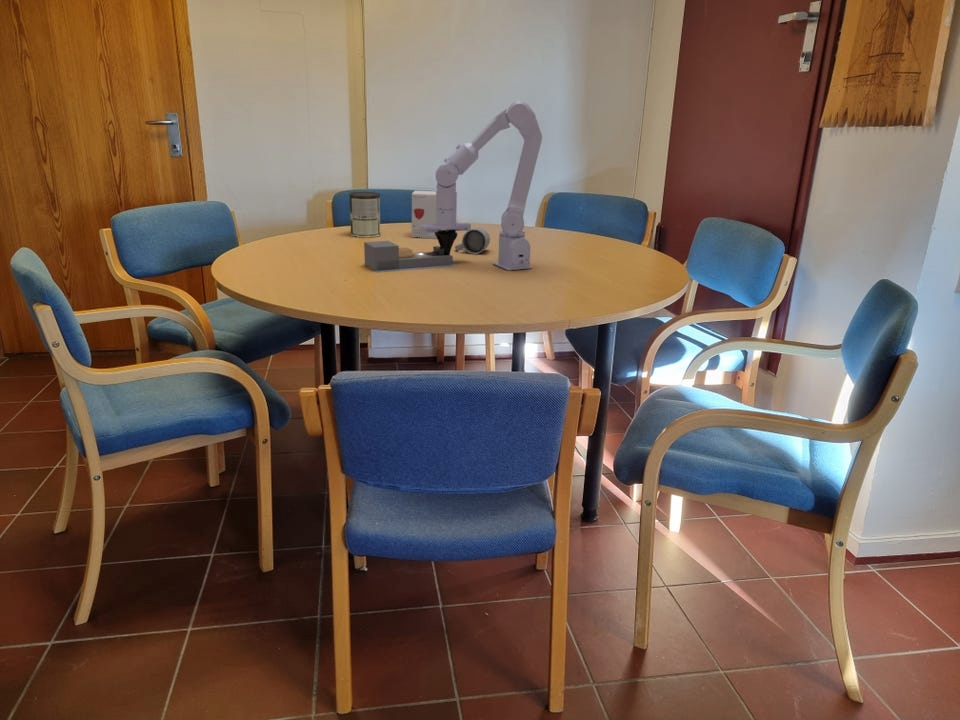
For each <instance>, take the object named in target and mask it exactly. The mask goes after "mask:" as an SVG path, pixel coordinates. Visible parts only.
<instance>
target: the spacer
mask: <svg viewBox="0 0 960 720" xmlns="http://www.w3.org/2000/svg"><path fill="white" fill-rule="evenodd" d="M412 253H413V249H410V248H408V247H399V259H401V258H412Z"/></svg>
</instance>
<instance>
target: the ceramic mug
mask: <svg viewBox="0 0 960 720" xmlns="http://www.w3.org/2000/svg"><path fill="white" fill-rule="evenodd" d="M461 239H462V240H461V243H459V244H457V245H455V246H454V248H455V250H456V252H458V251H461V250H463V249H464V250H465V252H467V253H468V254H470V253H471V255H478V254H480V253H482V252H483V251H484V250H486V249H487V248H488V247H489V244H490V243H491V242H490V241H491V237H490V233H489V232H488V230H486V229H484V228H482V227H474V228H471V231H466V232H465V233H464V235H462V238H461Z"/></svg>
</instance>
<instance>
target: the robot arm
mask: <svg viewBox="0 0 960 720" xmlns="http://www.w3.org/2000/svg"><path fill="white" fill-rule="evenodd" d="M510 124H511V125H512V126H513V127H514V128H516V130H518V132H519V135H521V136H522V138H523V144H522V150H521V154H520V157H519V160H518V165H517V170H516V173H515V176H514V182H513V185H512V190H511V194H510V198H509V201H508V205H507V208H506V210H505V211H504V212H503V213H502V215H501V223H500V226H501V231H499V234H498V235H499V236H498V237H499V238H498V260H497V261H492V265H494V266H497V267H500V268H501V269H503V270H506V271H517V270H518V271H519V270H528V269H533V266H532V265H530V264H531V263H530V262H531V245H530V242H529V241H528V240H527V239H526V232H525V231H524V229H525V221H524V214H525V209H526V204H527V199H528V196H529V191H530V188H531V184H532V180H533V176H534V173H535V168H536V164H537V159H538V157H539V152H540V149H541V145H542V141H543V134H542V130H541V129H540V125H539V122H538V120H537V116H536V113H535V112H534V110H533V109H532V108H531V106H530V105H529V104H528V102H527V103H526V102H525V101H522V100H518V101H514V102H512V103H511V104H510V105H509V107H508V109H507V108H505V109H504V110H502V111H501V112H500V113H498V114H497V115H496V116H495V117H493V118H492V119H491V120H490V122H489V123H488V124H487V125H485V127H483V129H482V130H481V131H480V132H479V133H478V135H477V136H475V138H474V139H473V140H472V141H471V142H463V143H461V144H460V143H459V144H458V145H457V146H456V147H455V149H456V150H455V151H454V152H453V153H452V154H451V155H450V156H449V157H448V158H447V157H446V158H444V159H443V162H444V164H441V165H440V166H438V168H437V169H436V171H435V181H436V182H437V183H436V191H437V192H436V224H430V225H421V232H422V233H430V232H435V235H436V237H437V239H436V240H437V241H438V244H439V247H441V248H444V255H451V251H452V247H453V245H454V243H455V242H456V241H455V240H456V239H457V238H458V232H464V231H466V232H467V231H471V229H472V228H471V225H472V224H471V223H469V222H457V210H458V209H457V204H458V203H457V202H458V201H457V199H458V197H457V196H458V195H457V180H458V178H459V176H463V175H464V174H465V172H467V170H469V168H471V166H472V165H474V164H475V163H476V162H477V160H478V159H479V151H480V150H481V149H482V148H483V147H485V146H486V144H488V143H489V142H490V140H491V139H493V138H494V137H495V136H496V135H497V134H498V133H499V132H500V131H503V130H504V131H505V130H507V129H510V128H511V127H510V126H511V125H510Z"/></svg>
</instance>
